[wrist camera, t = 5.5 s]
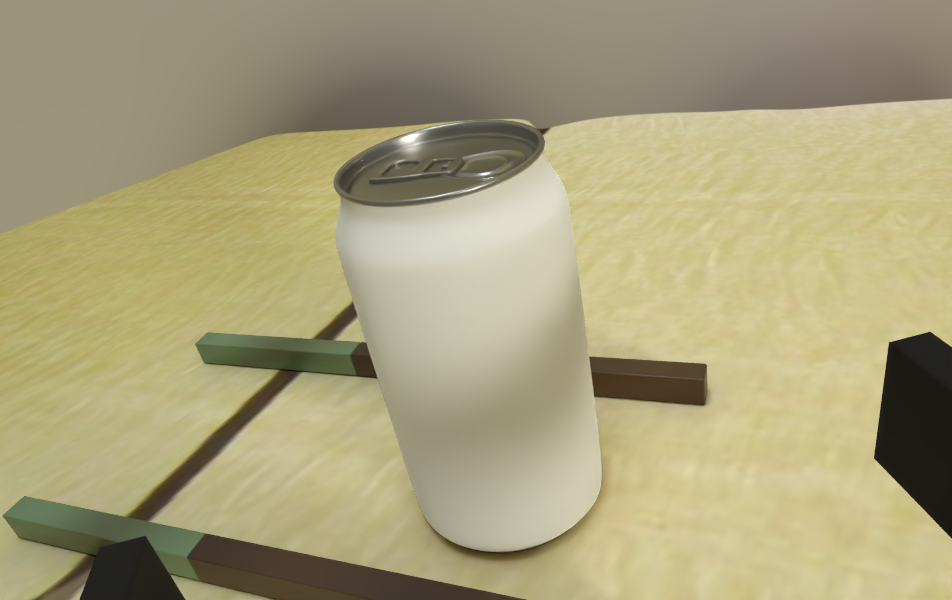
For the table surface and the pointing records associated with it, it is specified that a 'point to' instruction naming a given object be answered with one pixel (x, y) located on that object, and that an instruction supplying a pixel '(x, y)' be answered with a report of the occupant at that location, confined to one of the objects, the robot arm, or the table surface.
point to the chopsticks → (290, 573)
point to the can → (475, 327)
